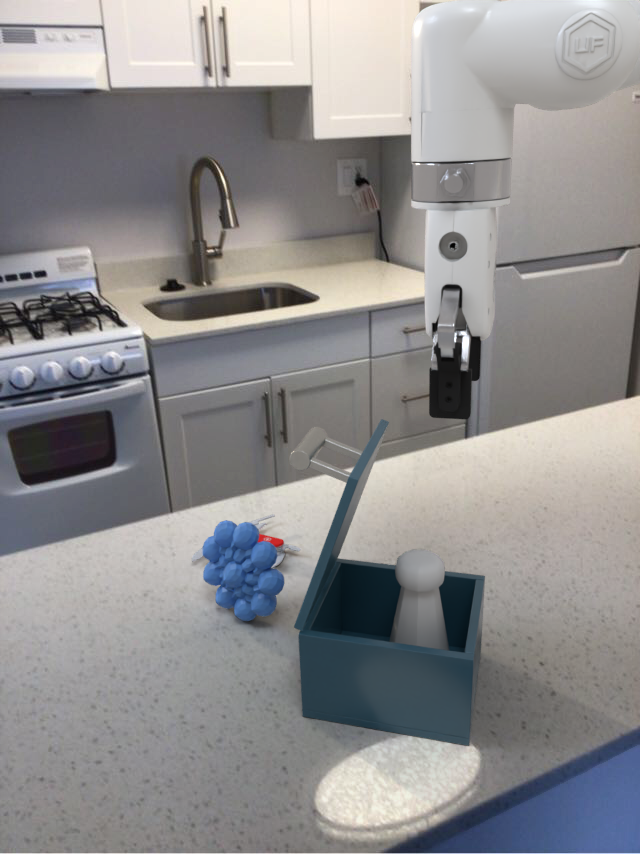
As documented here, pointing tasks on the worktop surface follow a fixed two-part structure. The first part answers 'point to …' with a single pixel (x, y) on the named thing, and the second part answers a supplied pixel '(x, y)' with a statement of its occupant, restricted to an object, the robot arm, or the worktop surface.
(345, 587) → the teal box
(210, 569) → the grapes
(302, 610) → the lid
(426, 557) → the salt shaker
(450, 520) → the worktop surface
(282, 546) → the swiss army knife
